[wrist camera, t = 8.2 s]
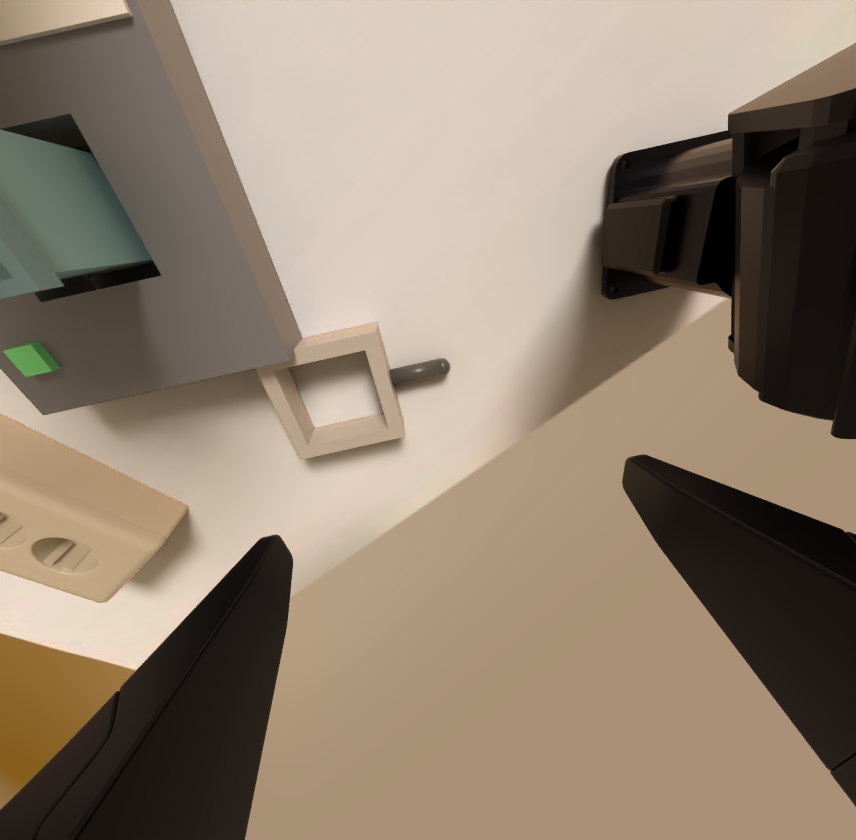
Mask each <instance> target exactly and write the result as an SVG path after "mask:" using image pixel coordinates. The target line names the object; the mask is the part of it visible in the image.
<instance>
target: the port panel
mask: <svg viewBox="0 0 856 840" xmlns="http://www.w3.org/2000/svg"><path fill="white" fill-rule="evenodd" d="M0 130H4V131H8V132H12V133H15V134H19V135H23V136H27V137H31V138H35V139H39V140H42V141H46V142H50V143H54V144H58V145H62V146H66V147H69V148H73V149H74V148H79V147H83V146H88V145H89V147H90V149H91V151H92V153H93V154H94V156H95V158H96V160H97V161H98V163H99V165H100V167H101V169H102V170H103V172H104V174H105V176H106V178H107V179H108V181H109V183H110V185H111V186H112V188H113V190H114V192H115V194H116V195H117V197H118V199H119V201H120V202H121V204H122V206H123V208H124V210H125V211H126V213H127V215H128V217H129V218H130V220H131V222H132V224H133V226H134V227H135V229H136V231H137V233H138V235H139V236H140V238H141V240H142V242H143V243H144V245H145V247H146V249H147V251H148V252H149V254H150V256H151V258H152V259H153V261H154V263H155V265H156V267H157V268H158V270H159V272H160V274H161V276H157V277H153V278H148V279H144V280H139V281H135V282H130V283H126V284H121V285H117V286H112V287H108V288H103V289H99V290H96V288H95V287H94V285H93V284H92V282H91V281H90V279H89V278H88V276H81V277H75V278H68V279H62V280H61V282H62V283H63V285H64V286H62V287H57V288H53V289H48V290H44V291H39V292H35V293H30V294H26V295H21V296H17V297H12V298H8V299H3V300H0V369H1V370H2V371H3V372H4V373H5V374H6V375H7V376H8V377H9V378H10V380H11V381H12V382H13V383H14V384H15V385H16V386H17V387H18V388H19V389H20V390H21V392H22V393H23V394H24V395H25V396H26V397H27V398H28V399H29V400H30V401H31V402H32V404H33V405H34V406H35V407H36V408H37V409H38V410H39V411H40V412H41V413H42V414H43V415H47V414H51V413H56V412H60V411H65V410H69V409H74V408H78V407H83V406H88V405H92V404H97V403H101V402H106V401H110V400H115V399H119V398H124V397H128V396H133V395H137V394H142V393H146V392H151V391H155V390H160V389H164V388H169V387H173V386H178V385H182V384H187V383H191V382H196V381H200V380H205V379H209V378H214V377H218V376H223V375H227V374H232V373H236V372H241V371H245V370H250V369H254V368H259V367H263V366H268V365H272V364H277V363H281V362H286V361H290V360H291V359H292V357H293V356H294V355H295V352H294V349H295V348H296V346H297V345H298V344H299V342H300V341H301V340H302V336H301V333H300V331H299V328H298V326H297V323H296V321H295V318H294V316H293V313H292V310H291V308H290V305H289V303H288V300H287V298H286V295H285V293H284V290H283V288H282V285H281V282H280V280H279V277H278V275H277V272H276V270H275V267H274V265H273V262H272V260H271V257H270V255H269V252H268V249H267V247H266V244H265V242H264V239H263V237H262V234H261V232H260V229H259V227H258V224H257V221H256V219H255V216H254V214H253V211H252V209H251V206H250V204H249V201H248V199H247V196H246V193H245V191H244V188H243V186H242V183H241V181H240V178H239V176H238V173H237V171H236V168H235V165H234V163H233V160H232V158H231V155H230V153H229V150H228V148H227V145H226V143H225V140H224V138H223V135H222V132H221V130H220V127H219V125H218V122H217V120H216V117H215V115H214V112H213V110H212V107H211V104H210V102H209V99H208V97H207V94H206V92H205V89H204V87H203V84H202V82H201V79H200V76H199V74H198V71H197V69H196V66H195V64H194V61H193V59H192V56H191V54H190V51H189V48H188V46H187V43H186V41H185V38H184V36H183V33H182V31H181V28H180V26H179V23H178V20H177V18H176V15H175V13H174V10H173V8H172V5H171V3H170V0H0Z"/></svg>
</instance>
